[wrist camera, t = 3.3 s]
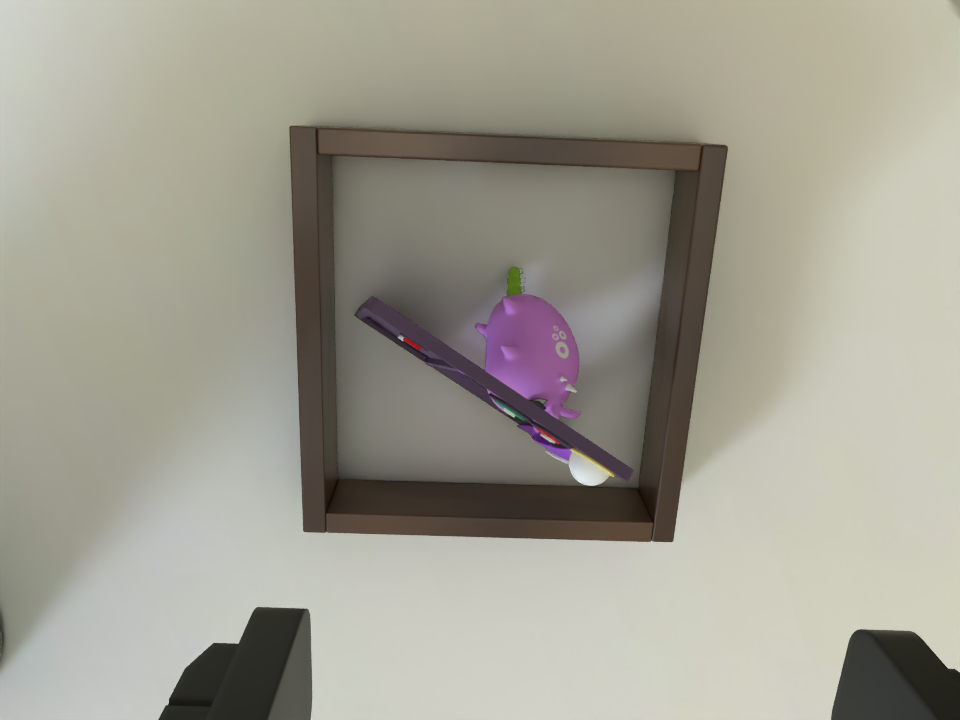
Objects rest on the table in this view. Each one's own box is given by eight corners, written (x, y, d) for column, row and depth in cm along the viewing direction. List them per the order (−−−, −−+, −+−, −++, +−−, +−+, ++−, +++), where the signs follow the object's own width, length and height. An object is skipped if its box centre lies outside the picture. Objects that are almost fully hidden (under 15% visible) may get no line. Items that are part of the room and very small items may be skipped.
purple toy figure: (349, 331, 19) (616, 505, 21) (456, 169, 20) (709, 353, 22) (342, 333, 26) (546, 466, 28) (423, 212, 26) (619, 350, 28)
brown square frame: (317, 496, 28) (303, 532, 26) (307, 125, 24) (289, 125, 22) (655, 507, 29) (673, 543, 26) (703, 143, 25) (729, 145, 22)
